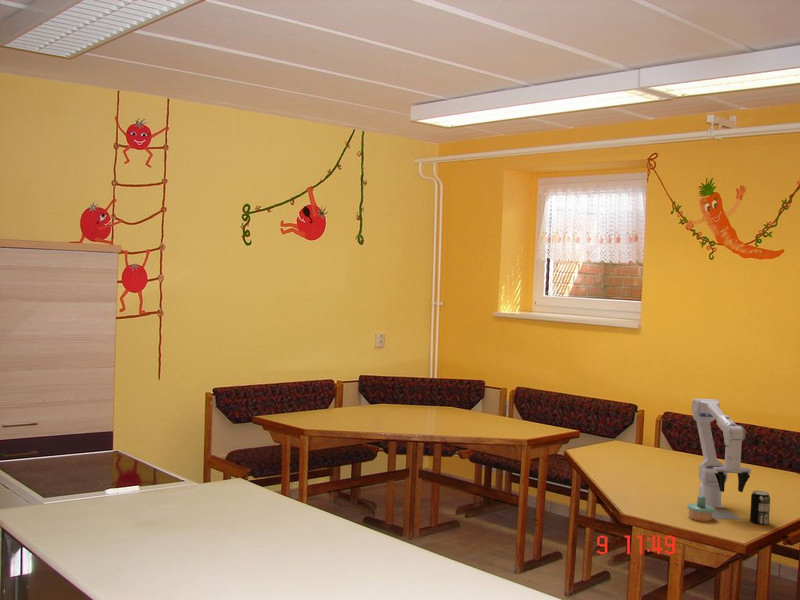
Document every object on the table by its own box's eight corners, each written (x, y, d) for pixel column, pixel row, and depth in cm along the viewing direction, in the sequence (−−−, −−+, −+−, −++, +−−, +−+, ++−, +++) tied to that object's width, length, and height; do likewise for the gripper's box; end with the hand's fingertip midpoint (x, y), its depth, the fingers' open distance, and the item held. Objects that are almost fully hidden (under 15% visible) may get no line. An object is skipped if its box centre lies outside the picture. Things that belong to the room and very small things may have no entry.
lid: (683, 504, 318) (683, 492, 318) (708, 505, 318) (709, 493, 318) (693, 512, 308) (693, 499, 308) (719, 513, 308) (719, 500, 308)
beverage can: (752, 520, 315) (754, 489, 315) (770, 523, 311) (772, 492, 311) (747, 523, 310) (749, 492, 310) (765, 527, 306) (767, 495, 306)
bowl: (686, 516, 317) (686, 505, 317) (705, 516, 318) (705, 506, 318) (695, 522, 309) (695, 511, 309) (714, 522, 310) (715, 511, 310)
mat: (697, 510, 326) (697, 508, 326) (725, 510, 327) (725, 509, 327) (712, 520, 313) (712, 518, 313) (742, 520, 314) (742, 518, 314)
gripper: (720, 458, 314) (718, 493, 314) (756, 459, 315) (754, 494, 315) (711, 454, 321) (709, 489, 321) (746, 455, 322) (744, 489, 322)
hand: (731, 491), depth 319 cm, fingers open, 7 cm apart
